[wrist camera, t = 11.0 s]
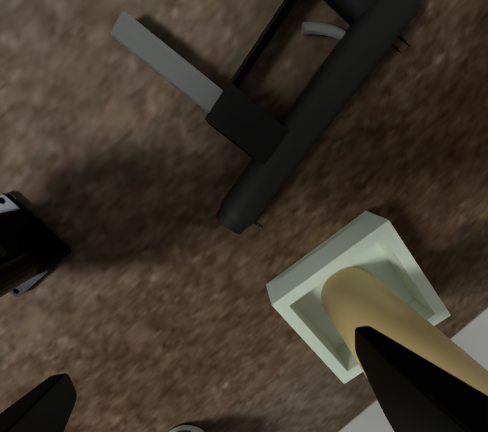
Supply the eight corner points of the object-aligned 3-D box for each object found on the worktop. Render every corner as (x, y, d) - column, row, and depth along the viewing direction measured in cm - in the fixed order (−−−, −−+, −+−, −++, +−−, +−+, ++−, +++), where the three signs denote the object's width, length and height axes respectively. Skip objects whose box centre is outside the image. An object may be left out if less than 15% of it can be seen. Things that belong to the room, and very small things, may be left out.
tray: (330, 356, 24) (344, 383, 21) (266, 284, 21) (271, 304, 18) (422, 294, 23) (450, 315, 20) (365, 210, 20) (388, 220, 17)
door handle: (57, 110, 15) (255, 249, 17) (242, -235, 12) (458, -5, 14) (90, 119, 18) (252, 236, 20) (242, -147, 15) (417, 27, 17)
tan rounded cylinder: (340, 328, 22) (511, 594, 9) (309, 290, 21) (455, 538, 8) (387, 295, 22) (649, 530, 8) (359, 255, 20) (615, 455, 7)
